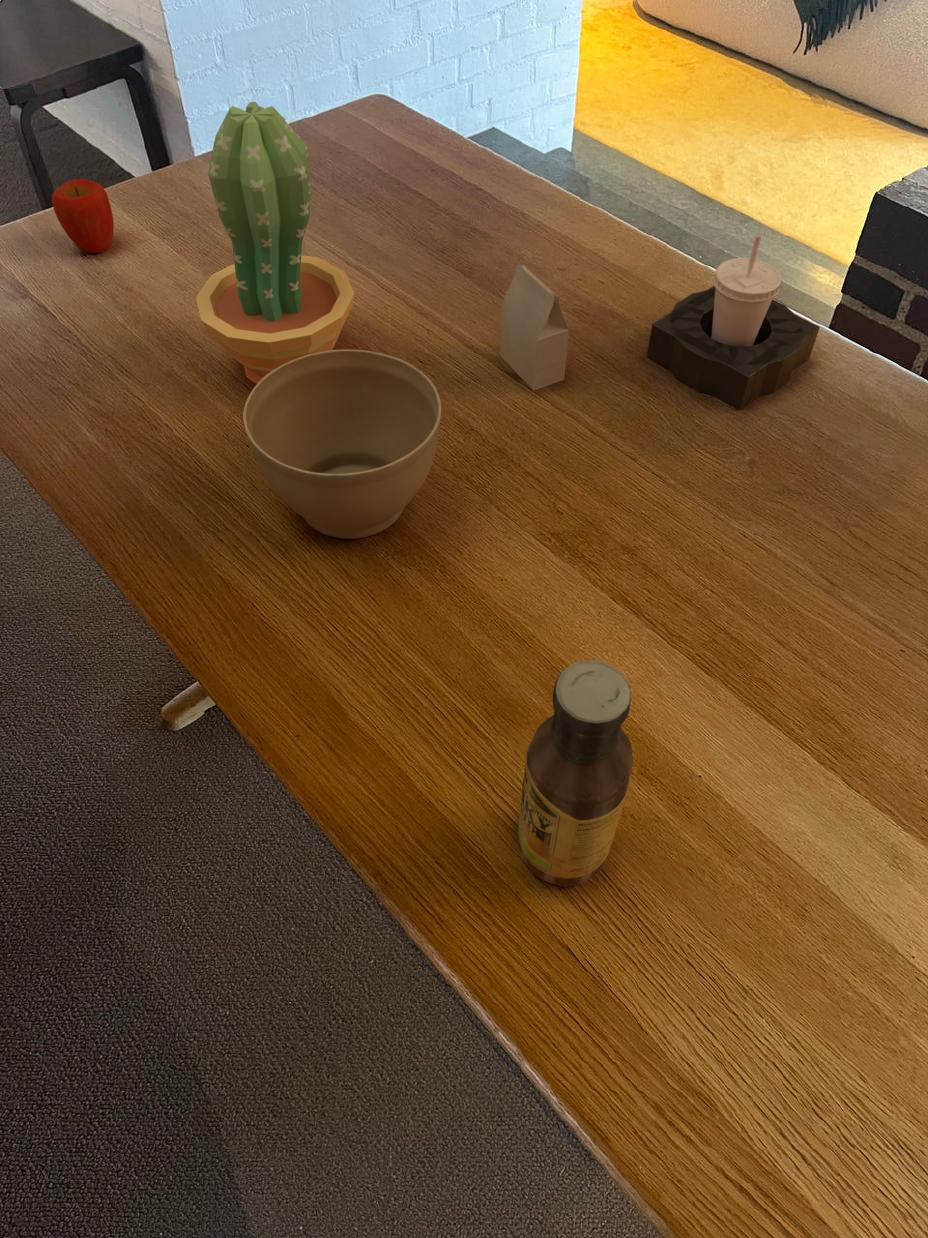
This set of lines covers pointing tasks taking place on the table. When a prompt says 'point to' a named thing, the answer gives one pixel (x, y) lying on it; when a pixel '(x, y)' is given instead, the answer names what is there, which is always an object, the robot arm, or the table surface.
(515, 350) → the gable top carton
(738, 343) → the smoothie
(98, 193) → the apple
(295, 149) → the potted cactus
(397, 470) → the planter bowl
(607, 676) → the sauce bottle
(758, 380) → the holder plate
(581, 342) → the table surface
